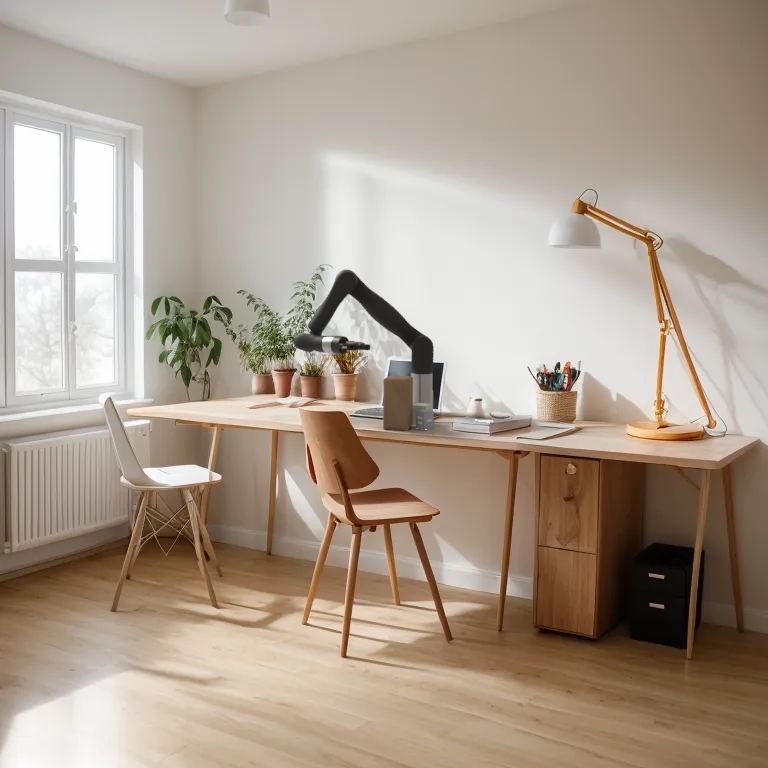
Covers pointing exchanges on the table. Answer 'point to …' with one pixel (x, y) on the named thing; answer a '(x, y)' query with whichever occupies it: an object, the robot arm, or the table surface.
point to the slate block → (425, 419)
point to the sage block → (420, 407)
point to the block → (398, 402)
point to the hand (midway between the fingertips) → (369, 347)
